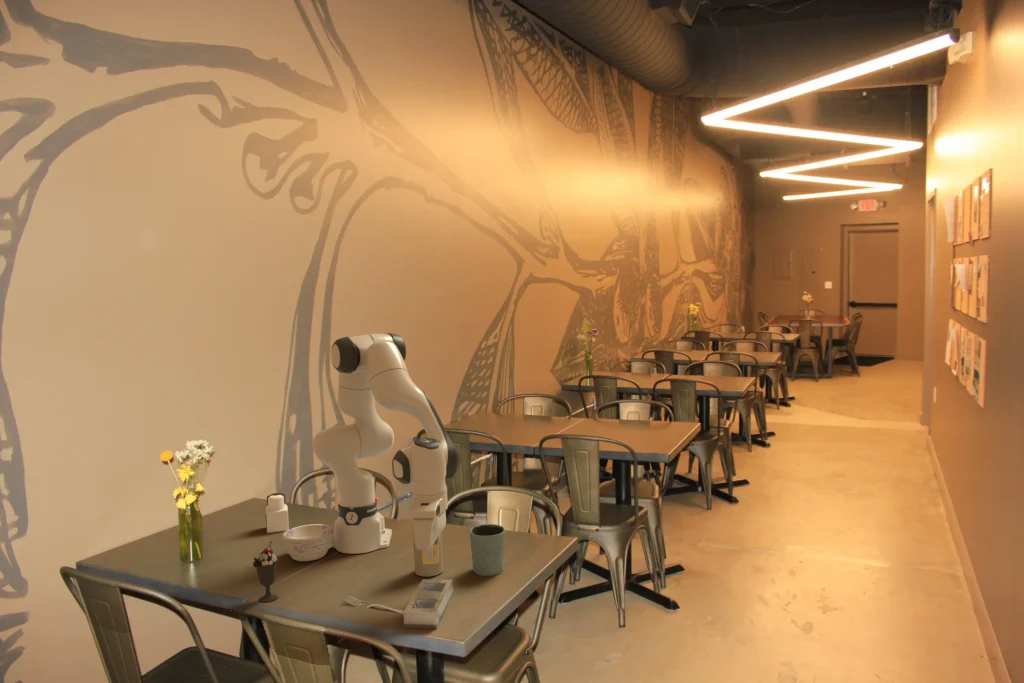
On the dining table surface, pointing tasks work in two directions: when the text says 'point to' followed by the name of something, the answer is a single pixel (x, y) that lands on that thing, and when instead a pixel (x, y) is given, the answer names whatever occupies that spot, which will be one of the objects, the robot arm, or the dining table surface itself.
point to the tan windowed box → (428, 604)
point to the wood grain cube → (436, 554)
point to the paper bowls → (308, 541)
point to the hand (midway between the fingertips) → (432, 554)
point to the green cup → (487, 549)
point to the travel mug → (427, 569)
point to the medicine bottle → (276, 513)
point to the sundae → (266, 572)
